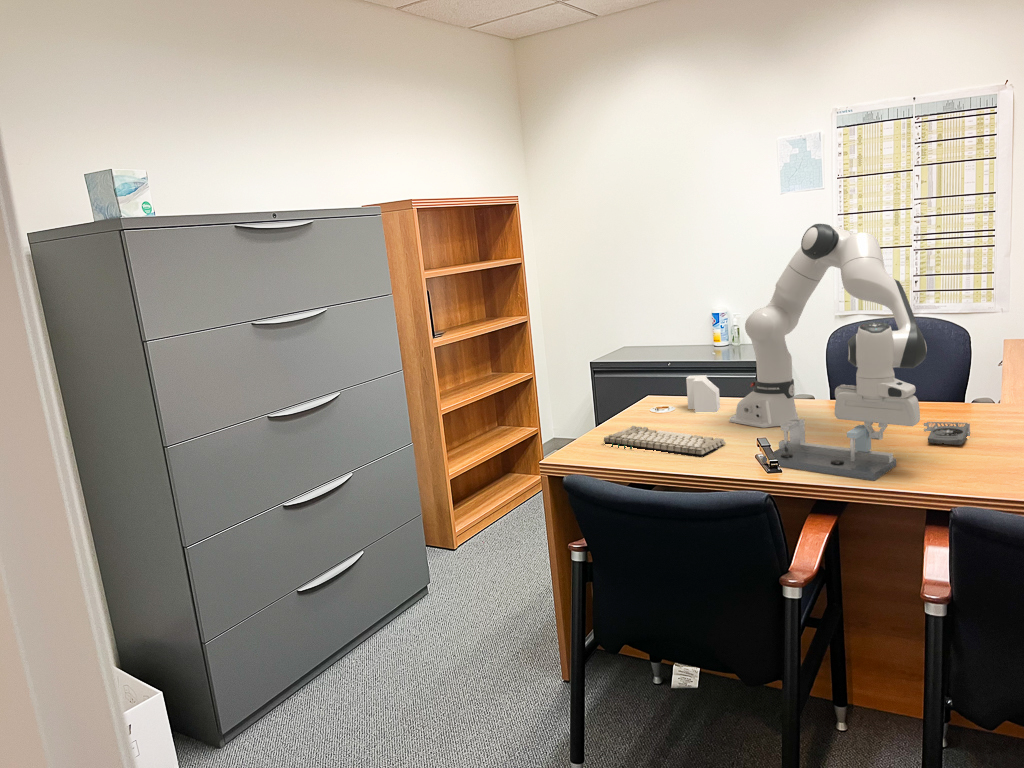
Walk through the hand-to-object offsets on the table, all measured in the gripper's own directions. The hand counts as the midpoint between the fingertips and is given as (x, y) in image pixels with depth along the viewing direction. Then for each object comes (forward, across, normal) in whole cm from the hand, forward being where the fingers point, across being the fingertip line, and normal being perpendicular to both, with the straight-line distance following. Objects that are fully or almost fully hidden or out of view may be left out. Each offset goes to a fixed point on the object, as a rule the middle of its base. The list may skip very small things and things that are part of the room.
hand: (876, 438), depth 193 cm
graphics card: (+9, +6, +34) cm, 35 cm away
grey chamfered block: (+8, -78, +40) cm, 88 cm away
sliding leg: (+5, -4, -2) cm, 6 cm away
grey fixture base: (+8, -12, -3) cm, 14 cm away
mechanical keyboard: (+9, -64, -5) cm, 64 cm away
